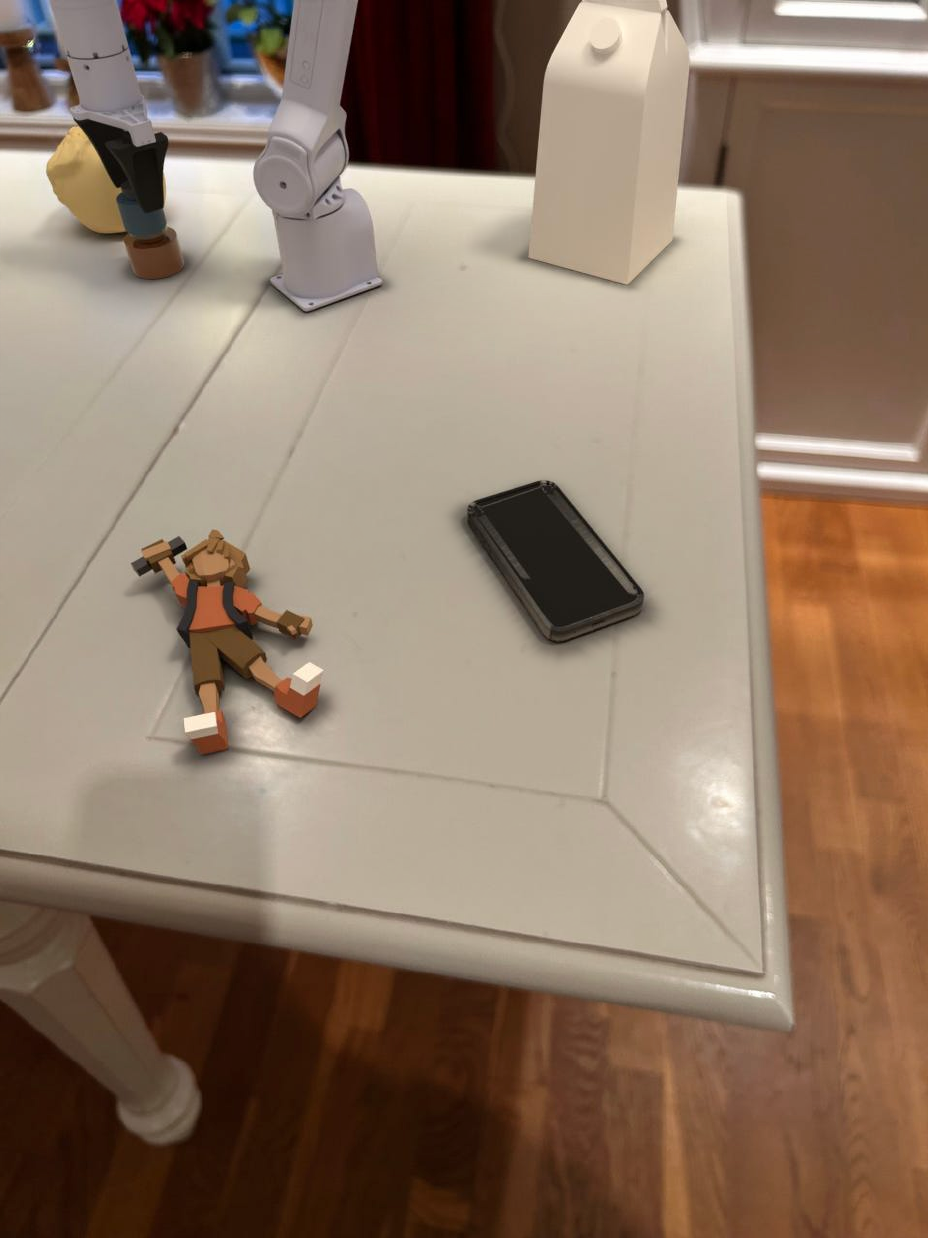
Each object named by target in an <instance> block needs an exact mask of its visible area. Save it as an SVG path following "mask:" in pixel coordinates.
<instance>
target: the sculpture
mask: <svg viewBox="0 0 928 1238" xmlns="http://www.w3.org/2000/svg"><path fill="white" fill-rule="evenodd" d="M45 168H46V169H45V174H46V177H47V178H48V181H49V183H50V185H51V187H52V192H53V193H54V195H55V196H56V198H57V200H58V202H59V203H60V204H62V205H64V206H65V208H66V207H67V209H68V210H69V211H70V213H71V214H72V215H73V216H74V217H75V218H76V219H77V220H78V221H79V222H80V223H81V224H82V225H83V226H85V227H86V228H88V229H89V230H90V231H93V232H95V233H99V234H117V233H126V231H125V228H124V225H123V221H122V218H121V215H120V211H119V208H118V205H117V201H116V197H117V196H118V195H119V194H120V193H122V190H121V187H120V188H116V187H115V185H114V184H113V182H112V180H111V179H110V177H109V175H108V173H107V171H106V169H105V167H104V165H103V163H102V161H101V159H100V157H99V155H98V153H97V152H96V150H95V148H94V146H93V145H92V143H91V142H90V140H89V139H88V137H87V136H86V134H85V133H84V132H83V130H82V129H81V128H80V127H79V126H78V125H77V126H76V125H75V126H72V127H71V128H70V129H68V130H67V133H66V135H65V136H64V138H63V139H62V140H61V142H60V144H58V146H57V147H56V150H55V151H54V153H53V154H52V155H51V157H50V158H49V159H48V161H47V162H46V167H45ZM163 187H164V206H165V204H166V199H167V182H166V177H165V173H164V171H163Z"/></svg>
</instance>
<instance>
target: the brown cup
mask: <svg viewBox="0 0 928 1238" xmlns="http://www.w3.org/2000/svg"><path fill="white" fill-rule="evenodd" d="M123 244H124V247H125V250H126V254H127V257H128V260H129V263H130V266H131V270H132V273H133V274H134V276H136V277H138V278H141V279H144V280H145V279H146V280H159V279H165V278H169V277H171V276H174V275H176V274H177V273H179V272H180V271H182V269H183V268H184V267H185V260H184V257H183V253H182V249H181V245H180V241H179V237H178V234H177V231H176V230H175V229H174V228H172V227H170V226H168V224H167V225H166V227H165V228H164V229H163V230H161V231H159V232H157V233H154V234H150V235H141V236H140V235H132V234H129V233H127V234H126V235H125V236H124V238H123Z"/></svg>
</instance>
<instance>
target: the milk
mask: <svg viewBox="0 0 928 1238" xmlns="http://www.w3.org/2000/svg"><path fill="white" fill-rule="evenodd" d="M690 62H691V58H690V52H689V48H688V45H687V43H686V41H685V38H684V37H683V35H682V33H681V31H680V29H679V28H678V25H677V23H676V22H675V19H674V18H673V16H672V14H671V12H670V11H669V10H668V2H667V0H581V2H579V3H578V5H577V7H576V9H575V11H574V13H573V14H572V16H571V19H570V20H569V22H568V23H567V26H566V28H565V29H564V31H563V33H562V35H561V37H560V39H559V41H558V42H557V43H556V46H555V48H554V50H553V52H552V53H551V56H550V58H549V61H548V63H547V65H546V69H545V72H544V78H543V86H542V99H541V109H540V120H539V121H540V122H539V130H538V131H539V132H538V141H537V142H538V143H537V156H536V164H535V165H536V166H535V177H534V190H533V201H532V212H531V221H530V222H531V223H530V233H529V234H530V235H529V244H528V245H529V246H528V255H527V256H528V257H527V258H528V259H531V260H536V261H539V262H543V263H546V264H550V265H554V266H557V267H561V268H564V269H568V270H571V271H575V272H579V273H583V274H586V275H590V276H593V277H597V278H600V279H605V280H608V281H611V282H616V283H619V284H623V285H625V286H626V285H627V286H628V285H629V284H630V283H631V282H632V281H633V280H635V278H636V277H638V275H639V274H640V273H642V271H644V269H646V267H647V266H649V264H650V263H651V262H652V261H653V260H654V259H656V258H657V256H659V254H661V252H663V251H664V249H666V248H667V247H668V246H669V245H670V244H671V242H673V238H674V229H675V228H674V227H675V217H676V207H677V198H678V187H679V176H680V167H681V158H682V149H683V137H684V125H685V118H686V117H685V116H686V107H687V97H688V86H689V76H690V64H691V63H690Z"/></svg>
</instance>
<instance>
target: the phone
mask: <svg viewBox="0 0 928 1238" xmlns="http://www.w3.org/2000/svg"><path fill="white" fill-rule="evenodd" d="M466 511H467V512H466V513H467V514H466V515H467V519H466V520H467V524H468V525H469V526H470V528H471V529H472V531H473V532H474V534H475V536H476V538H478V540H479V542H480V543H481V545H482V546H483V547H484V549H485V550H486V552H487V553H488V555H489V556H490V558H491V560H492V561H493V562H494V564H495V565H496V566H497V568H498V569H499V571H500V572H501V574H502V575H503V577H504V578H505V580H506V582H507V583H508V584H509V585H510V588H512V590H513V592H514V593H515V595H516V596H517V597H518V599H519V600H520V602H521V603H522V605H523V606H524V608H525V609H526V611H527V612H528V613H529V615H530V616H531V618H532V620H533V622H534V623H535V624H536V625H537V627H538V628H539V630H540V631H541V633H542V634H543V636H545V637H546V639H548V640H550V641H553V642H560V643H562V642H567V641H569V640H572V639H575V638H577V637H580V636H584V635H586V634H589V633H591V632H594V631H597V630H599V629H603V628H605V627H607V626H611V625H614V624H616V623H618V622H621V621H625V620H627V619H629V618H632V617H636V616H637V615H639V614H640V612H641V611H642V609H643V605H644V599H645V593H644V591H643V589H642V588H641V586H640V585H639V584H638V583H637V581H636V580H635V579H634V578H633V577H632V575H631V574H630V573H629V572H628V570H627V569H626V568H625V567H624V566H623V564H622V563H621V562H620V561H619V560H618V558H617V557H616V556H615V554H614V553H613V552H612V551H611V550H610V548H609V547H608V546H607V544H606V543H605V542H604V541H603V540H602V539H601V537H600V536H599V535H598V533H597V532H596V531H595V530H594V529H593V528H592V526H591V525H590V524H589V522H588V521H587V520H586V519H585V518H584V516H583V515H582V514H581V512H580V511H579V510H578V509H577V508H576V507H575V505H574V504H573V503H572V502H571V500H570V499H569V497H568V496H567V495H566V494H565V493H564V492H563V490H562V489H561V488H560V487H559V486H558V485H557V484H556V482H554V481H551V480H547V479H540V480H536V481H534V482H530V483H526V484H523V485H521V486H517V487H513V488H511V489H507V490H504V491H500V492H498V493H494V494H492V495H488V496H485V497H482V498H479V499H475V500H473V501H471V502H470V503H469V504H468V505H467V510H466Z"/></svg>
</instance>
